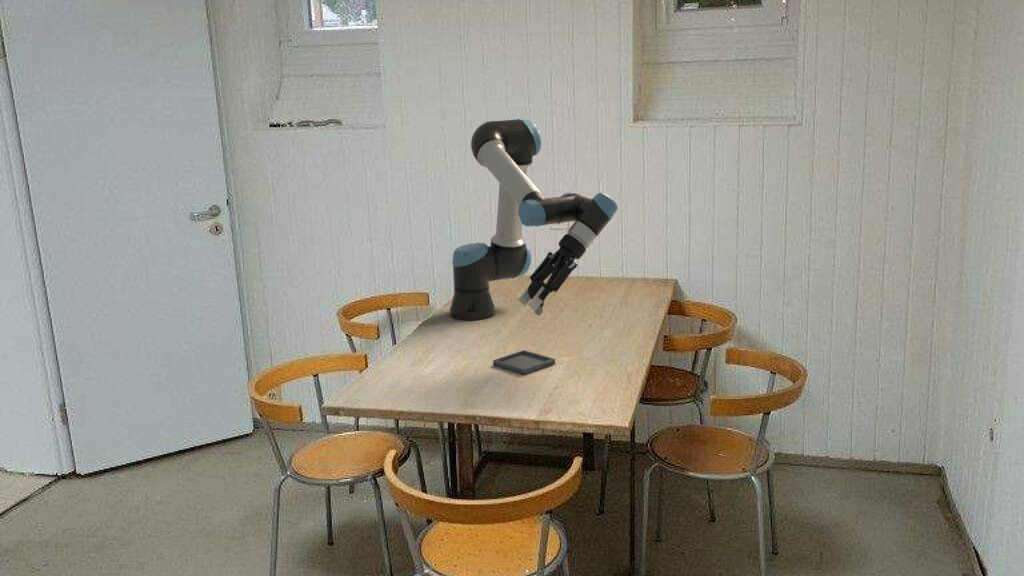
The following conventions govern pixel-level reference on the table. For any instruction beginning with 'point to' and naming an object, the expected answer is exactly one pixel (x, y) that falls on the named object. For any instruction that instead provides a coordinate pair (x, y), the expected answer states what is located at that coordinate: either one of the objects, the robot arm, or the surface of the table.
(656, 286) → the table surface
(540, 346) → the table surface
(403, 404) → the table surface
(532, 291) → the light bulb
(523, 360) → the tray
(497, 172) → the robot arm
